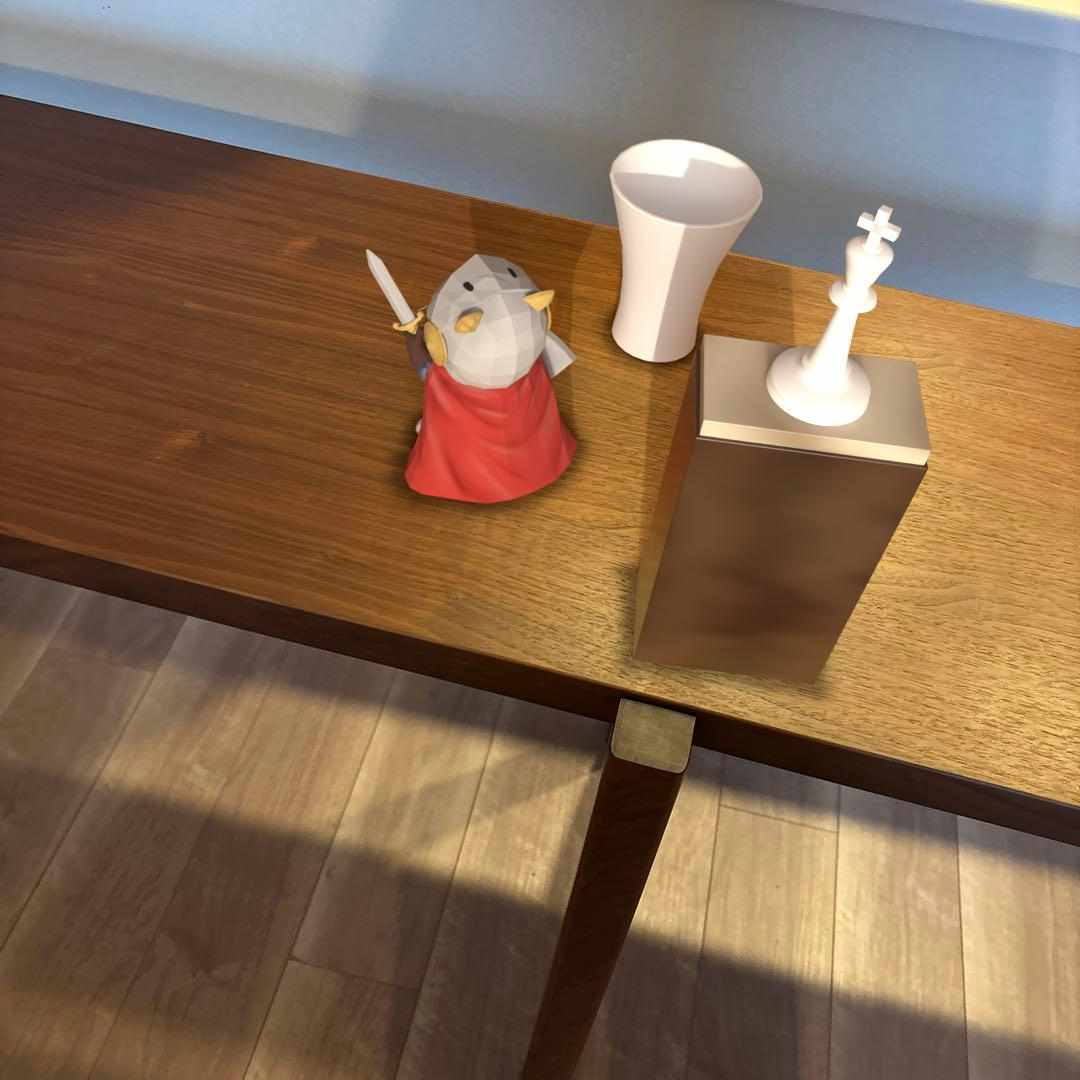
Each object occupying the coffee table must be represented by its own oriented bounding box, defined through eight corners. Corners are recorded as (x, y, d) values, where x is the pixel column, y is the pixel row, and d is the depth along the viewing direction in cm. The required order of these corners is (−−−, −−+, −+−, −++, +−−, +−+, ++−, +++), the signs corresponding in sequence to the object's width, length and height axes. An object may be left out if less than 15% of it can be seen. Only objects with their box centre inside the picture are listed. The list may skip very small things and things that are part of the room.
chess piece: (794, 341, 55) (856, 161, 47) (884, 386, 53) (964, 207, 46) (747, 393, 52) (805, 210, 44) (840, 442, 50) (917, 262, 43)
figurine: (549, 375, 81) (571, 197, 70) (595, 489, 74) (629, 313, 63) (371, 397, 78) (364, 215, 67) (403, 518, 71) (401, 339, 60)
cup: (725, 387, 82) (770, 234, 72) (585, 375, 82) (610, 218, 71) (716, 298, 89) (756, 145, 78) (586, 286, 88) (609, 131, 78)
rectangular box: (808, 598, 70) (919, 360, 55) (814, 685, 66) (936, 454, 51) (637, 575, 70) (700, 330, 55) (632, 661, 66) (699, 422, 51)
